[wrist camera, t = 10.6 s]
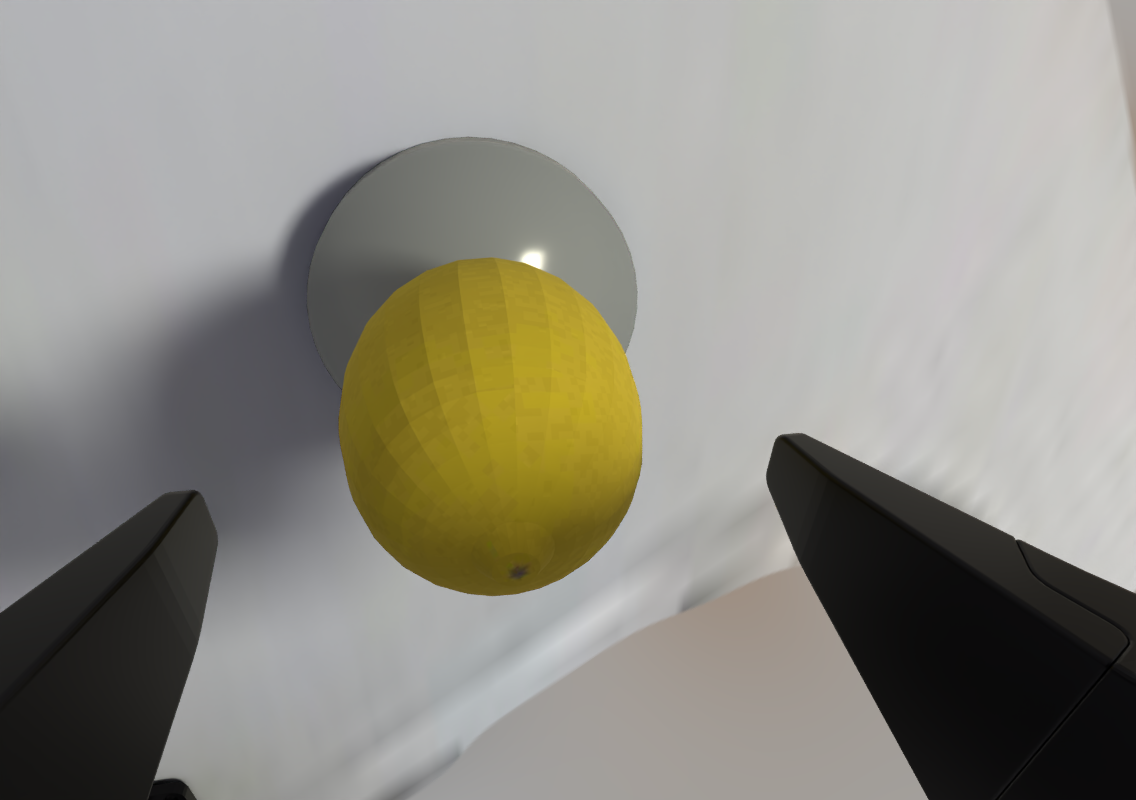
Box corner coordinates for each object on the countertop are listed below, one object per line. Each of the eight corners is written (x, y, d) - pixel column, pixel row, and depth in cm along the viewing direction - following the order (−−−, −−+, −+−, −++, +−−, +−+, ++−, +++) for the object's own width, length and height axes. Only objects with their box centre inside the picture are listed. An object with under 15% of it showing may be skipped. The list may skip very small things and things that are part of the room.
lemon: (480, 447, 17) (510, 727, 10) (311, 322, 14) (205, 602, 8) (631, 320, 16) (775, 550, 9) (480, 153, 13) (530, 313, 6)
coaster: (616, 416, 18) (624, 435, 18) (344, 439, 17) (340, 461, 16) (639, 136, 14) (652, 143, 13) (279, 137, 13) (268, 146, 12)
